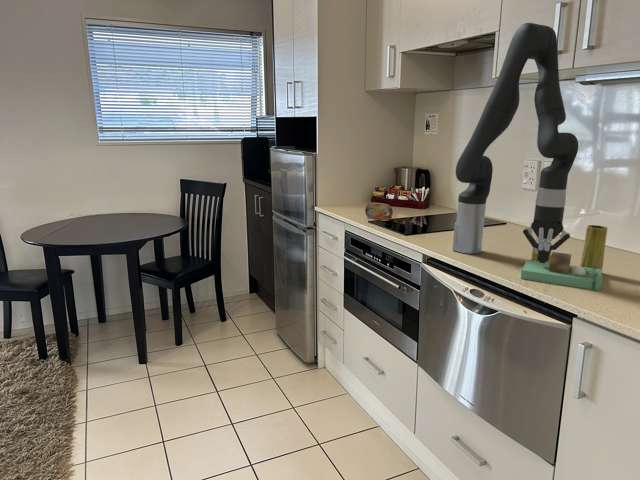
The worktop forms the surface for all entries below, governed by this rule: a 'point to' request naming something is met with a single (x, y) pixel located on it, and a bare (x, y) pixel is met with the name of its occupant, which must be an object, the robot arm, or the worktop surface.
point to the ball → (578, 270)
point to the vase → (594, 247)
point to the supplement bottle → (535, 251)
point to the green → (562, 275)
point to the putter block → (560, 262)
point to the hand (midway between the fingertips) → (542, 262)
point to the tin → (379, 211)
